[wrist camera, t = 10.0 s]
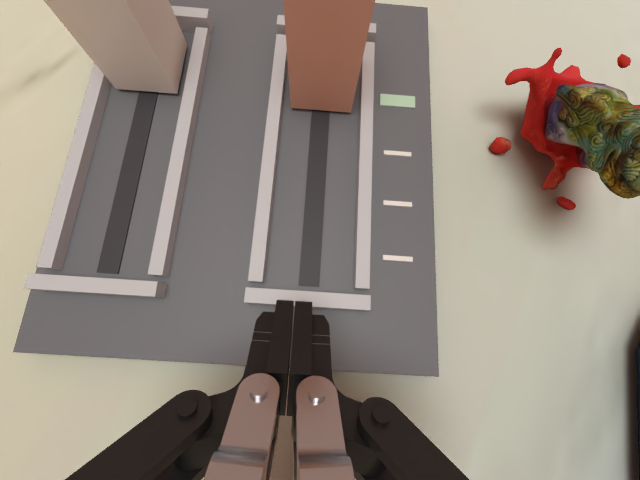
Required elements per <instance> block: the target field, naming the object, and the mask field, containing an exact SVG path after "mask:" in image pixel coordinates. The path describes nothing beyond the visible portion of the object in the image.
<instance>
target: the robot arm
mask: <svg viewBox="0 0 640 480" xmlns="http://www.w3.org/2000/svg"><path fill="white" fill-rule="evenodd" d="M293 307H294V301H291V300H277V301H276V308H275V312H264V311H263V312H262V313H261V315H260V316H259V317H258V318H257V320H256V323H255V327H254V333H253V336H252V341H251V345H250V350H249V354H248V359H247V363H246V368H245V372H244V376H243V378H242V379H241V381H240V382H239V383H238V384H237V385H236V386H235V387H234V388H232V389H230V390H228V391H226V392H223V393H220V394H216V395H212V396H207V394H205V393H204V392H202V391H199V390H188V391H185V392H182V393H180V394H178V395H176V396H175V397H174V398H172V399H171V400H170V401H168V402H167V403H166V404H164V405H163V406H162V407H160V408H159V409H158V410H156V411H155V412H154V413H152V414H151V415H150V416H148V417H147V418H146V419H145V420H143V421H142V422H141V423H139V424H138V425H137V426H135V427H134V428H133V429H131V430H130V431H129V432H127V433H126V434H125V435H123V436H122V437H121V438H119V439H118V440H117V441H115V442H114V443H113V444H111V445H110V446H109V447H107V448H106V449H105V450H104V451H102V452H101V453H100V454H98V455H97V456H96V457H94V458H93V459H92V460H90V461H89V462H88V463H86V464H85V465H84V466H82V467H81V468H80V469H78V470H77V471H76V472H74V473H73V474H72V475H70V476H69V477H68V478H67V479H65V480H201V479H202V478H203V477H204V476H205V477H204V480H271V474H272V468H273V462H274V457H275V451H276V445H277V439H278V424H279V415H285V410H286V398H287V386H288V374H289V361H290V349H291V337H292V323H293ZM287 416H292V427H291V434H292V438H293V439H292V445H293V480H355V479H354V477H355V478H356V479H357V480H469V479H468V478H467V477H466V476H465V475H464V474H463V473H462V472H461V471H460V470H459V469H458V468H457V467H456V466H455V465H454V464H453V463H452V462H451V461H450V460H449V459H448V458H447V457H446V456H445V455H444V454H443V453H442V452H441V451H440V450H439V449H438V448H437V447H436V446H435V445H434V444H433V443H432V442H431V441H430V440H429V439H428V438H427V437H426V436H425V435H424V434H423V433H422V432H421V431H420V430H419V429H418V428H417V427H416V426H415V425H414V424H413V423H412V422H411V421H410V420H409V419H408V418H407V417H406V416H405V415H404V414H403V413H402V412H401V411H400V410H399V409H398V408H397V407H396V406H395V405H394V404H393V403H392V402H390V401H388V400H386V399H384V398H380V397H372V398H369V399H367V400H365V401H364V402H363V403H361V402H358V401H355V400H353V399H350V398H348V397H346V396H344V395H343V394H341V393H340V392H339V391H338V390H337V388H336V387H335V385H334V383H333V380H332V366H331V347H330V327H329V323H328V321H327V320H326V318H325V316H324V315H314V314H312V302H306V301H295V312H294V324H293V337H292V349H291V362H290V374H289V390H288V405H287Z"/></svg>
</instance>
